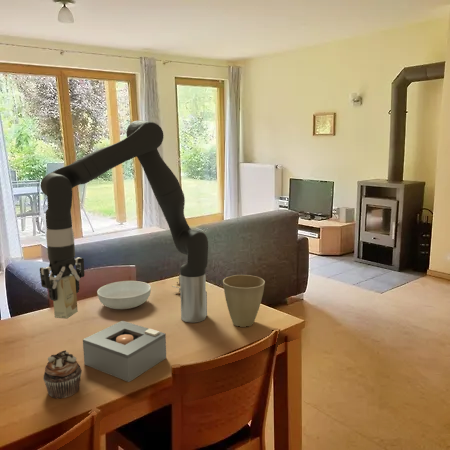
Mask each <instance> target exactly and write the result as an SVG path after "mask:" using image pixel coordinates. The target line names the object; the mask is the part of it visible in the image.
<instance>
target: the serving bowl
mask: <svg viewBox="0 0 450 450" xmlns="http://www.w3.org/2000/svg"><path fill="white" fill-rule="evenodd" d="M151 291H152V286H151V285H150V284H149V283H147V282H143V281H138V280H121V281H115V282H111V283H107V284H106V285H103V286H101V287H99V288H98V289H97V291H96V293H97V298H98V300H99V302H100V303H101V304H102V305H103V306H104V307H107V308H110V309H112V310H113V309H115V310H127V309H133V308H137V307H138V306H141V305H143V304H144V303H145V302H146V301H147V300H148V299H149V297H150V296H151Z"/></svg>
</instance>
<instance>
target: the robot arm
mask: <svg viewBox="0 0 450 450" xmlns="http://www.w3.org/2000/svg"><path fill="white" fill-rule="evenodd" d="M125 133H126V137H125V138H124V139H121V140H120V141H118V142H115V143H113V144H110V145H107V146H105V147H102V148H99V149H96V150H94V151H91V152H90V153H87V154H86V155H83V156H82V157H80V158H79V159H77V160H74V162H72V163H71V164H68V165H65V166H63V167H61V168H58V169H56V170H54V171H51V172H50V173H47V174H45V176H43V178H42V179H41V182H40V190H41V192H42V193H43V194H44V195H45V196H46V198H47V201H46V202H47V209H46V211H45V224H46V235H45V236H46V247H47V248H46V249H47V259H48V261H49V265H47V266H46V267H42V266H41V267H40V268H39V277H40V284H41V287H42V288H45V289H48V297H49V299H50V300H51V301H56V300H57V288H56V286H57V283H58V282H59V281H60V279H61V278H62V277H64V276H68V275H70V274H72V275H74V277H75V281H76V294H78V293H79V290H80V280H81V278H84V277H85V260H84V258H83V257H78V256H77V257H76V249H75V248H76V247H75V235H74V233H75V232H74V230H73V220H72V218H73V217H72V202H73V189H74V188H75V187H77V186H80V185H85V184H87V183H90V182H91V181H93V180H95V179H97V178H99V177H100V176H102V175H103V174H105V173H106V172H108V171H110V170H112V169H114V168H116V167H117V166H120V165H121V164H123V163H126V162H127V161H130V160H132V159H135V158H136V157H137V159H138V161H139V163H140V165H141V167H142V169H143V172H144V174H145V176H146V179H147V181H148V183H149V185H150V188H151V189H152V192H153V194H154V198H155V199H156V201H157V204H158V205H159V207H160V210H161V212H162V213H163V216H164V219H165V221H166V222H167V223H166V224H167V226H168V229H169V231H170V234H171V236H172V237H171V238H172V240H173V243H174V246H175V248H176V249H177V251H178V252H179V253H181V254H184V255H187V262H186V263H183V264H182V265H180V268H179V276H180V289H181V292H180V320H182V322H186V323H200V322H203V321H205V319H206V318H207V316H208V292H207V290H206V289H207V288H206V284H207V283H206V282H207V281H206V270H207V267H208V261H209V259H208V258H209V241H208V236H207V235H206V234H205V233H204V232H202V231H199V230H195V229H191V227H190V225H189V224H188V222H187V220H186V217H185V203H186V199H185V198H186V197H185V194H184V191H183V188H182V186H181V184H180V181H179V179H178V177H176V175H175V173H174V172H173V171H172V170H171V168H170V167H169V166H168V165H167V163H166V162H165V161H164V160H163V157H161V154H160V152H159V150H158V149H159V148H160V146H161V145H162V144H163V141H164V131H163V129H162V127H161V126H160V125H159V124H158V123H156V122H154V121H150V120H134V121H132V122H130V123H129V125H128V126H127V129H126V132H125ZM56 276H57V277H56ZM55 277H56V278H55ZM52 280H54V282H53V284H52Z"/></svg>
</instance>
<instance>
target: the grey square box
mask: <svg viewBox="0 0 450 450" xmlns="http://www.w3.org/2000/svg"><path fill="white" fill-rule="evenodd" d="M124 334H129V335H132V336H133V341H131V342H129V343H128V344H126V345H123V344H120V343H117V342H116V338H117V337H118V336H120V335H124ZM166 335H167V334H166V333H165V332H162V331H159V330H156V329H153V328H148V327H144V326H142V325H138V324H135V323H132V322H128V321H125V320H121V321H118V322H116V323H114V324H112V325H110V326H108V327H106V328H103V329H102V330H100V331H97V332H96V333H95V332H94V333H93V334H91V335H90V336H86V337H85V338H83V339H82V348H83V349H82V351H83V362H84V364H83V365H84V366H87V367H90V368H92V369H95V370H97V371H99V372H102V373H104V374H108V375H111V376H112V377H115V378H117V379H121V380H123V381H125V382H127V383H130V382H132V381H133V380H135V379H136V378H137V377H140V376H141V375H143V373H146V372H147V371H148V370H150V369H152V368H153V367H155V366H156V365H157V364H159V363H161V362H163V361H164V360H166V359H167V342H166V341H167V338H166V337H167V336H166Z"/></svg>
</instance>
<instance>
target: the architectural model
mask: <svg viewBox="0 0 450 450" xmlns="http://www.w3.org/2000/svg"><path fill="white" fill-rule="evenodd" d="M177 279H178V281H177V282H176V283H174V284H172V285H171V287H174V288H177V289H178V292H180V293H181V289H180V275H178V278H177Z"/></svg>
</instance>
